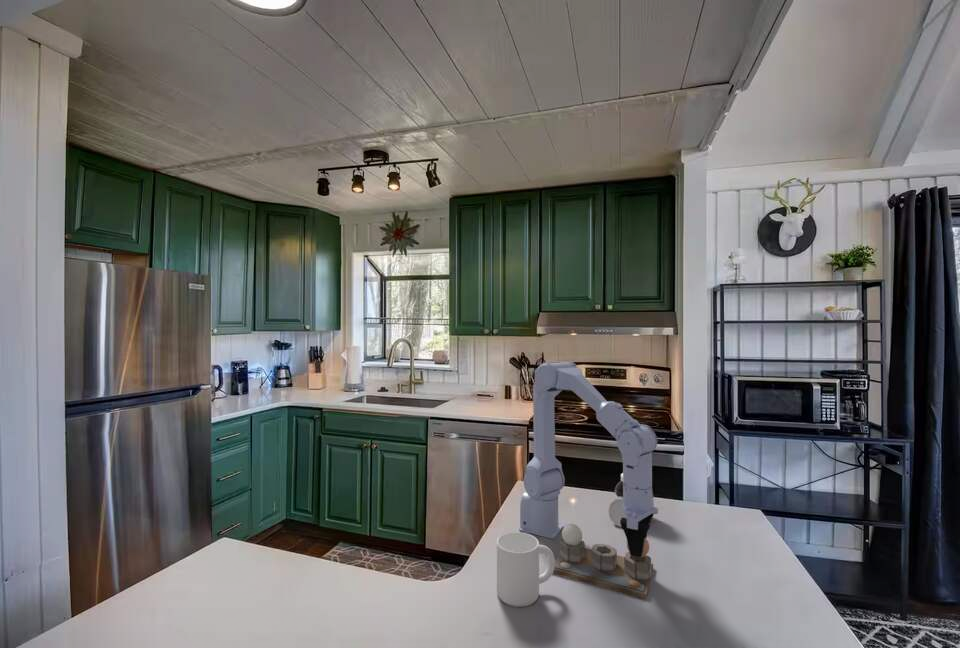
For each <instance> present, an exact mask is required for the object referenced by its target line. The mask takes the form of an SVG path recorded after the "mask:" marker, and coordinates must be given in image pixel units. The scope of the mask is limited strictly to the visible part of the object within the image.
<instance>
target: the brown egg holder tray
mask: <svg viewBox="0 0 960 648" xmlns="http://www.w3.org/2000/svg"><path fill="white" fill-rule="evenodd" d="M617 552H618V550H617V549H616V548H615V547H613V546H611V545H609V544H605V543H595V544H593V545H592V546H591V548H588V547H585V541H584V540H583V539H582V540H581V542H580V543H579V544H578V545H576V546H570V545H568V544H566V543H565V542H564V540H563V538H561V540H560V541H559V556H558V557H557V559H556V560H555V567H554V571H553V573H552V574H554V575H558V576H561V577H564V578H565V577H566V578H568V579H572V580H576V581H580V582H583V583H587V584H588V585H589V584H590V585H594V586H597V587H599V588H600V587H601V588H605V589H609V590H611V591H615V592H618V593H622V594H627V595H630V596H633V597H637V598H640V599H643V600H647V598H648V593H649V591H650V585H651V581H652V580H651V579H652V576H653V571H654V563H652V558H651V556H649V555H647V554H646V555H645V556H644V557H636V556H633V555H630V552H629V551H627V552H625V554H624V555H625V556H622V555H618V553H617Z"/></svg>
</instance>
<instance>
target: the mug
mask: <svg viewBox="0 0 960 648" xmlns="http://www.w3.org/2000/svg"><path fill="white" fill-rule="evenodd" d="M540 554H544V555H545V556H546V557H547V568H546V569H545V571H544V573H542V574H540ZM555 562H556V560H555V556H554V553H553V551H552V550H551V549H550V548H549V547H548V546H546V545H544V544H540V542H539V540H538V539H537V538H536V537H535V536H533V534H531V533H527V532H523V531H513V532H507V533H506V532H505V533H502V534H501V535H500V536H498V537H497V539H496V592H497V597H499V600H500V601H502V602H503V603H505V604H506V605H508V606H510V607H515V608H522V607H528V606H531V605H532V604H534V603H535V602H536V601H538V600H537V599H538V598H539V594H540V584H543V583H545V582H547V581H548V580H549V579H550V578H551V577H552V575H553V574H554V573H553V571H554V567H555Z"/></svg>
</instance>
